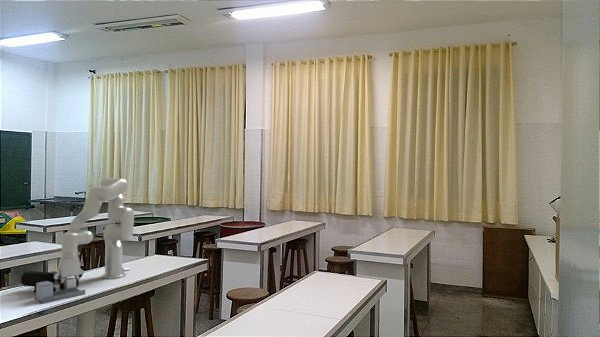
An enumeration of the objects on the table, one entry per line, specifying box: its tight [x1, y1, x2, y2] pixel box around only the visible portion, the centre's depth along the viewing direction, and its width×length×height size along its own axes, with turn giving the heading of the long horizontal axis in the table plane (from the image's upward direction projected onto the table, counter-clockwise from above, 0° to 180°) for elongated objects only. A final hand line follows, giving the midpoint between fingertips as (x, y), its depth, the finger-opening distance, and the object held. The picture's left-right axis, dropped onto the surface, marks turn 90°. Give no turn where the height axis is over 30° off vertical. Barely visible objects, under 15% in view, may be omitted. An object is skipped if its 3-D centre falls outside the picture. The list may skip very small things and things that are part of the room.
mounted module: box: [35, 281, 54, 301], centre depth 207 cm, size 5×7×8 cm
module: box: [63, 276, 76, 289], centre depth 225 cm, size 5×6×6 cm
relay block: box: [51, 269, 66, 285], centre depth 239 cm, size 5×6×7 cm
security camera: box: [20, 270, 57, 293], centre depth 222 cm, size 7×18×10 cm, turn 79°
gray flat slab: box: [34, 287, 86, 305], centre depth 213 cm, size 20×10×2 cm, turn 142°
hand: (69, 288), depth 225 cm, fingers open, 6 cm apart
